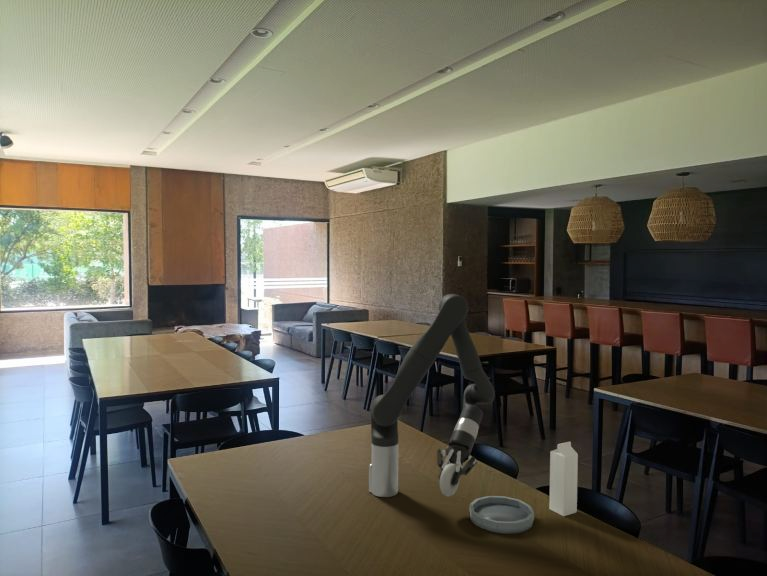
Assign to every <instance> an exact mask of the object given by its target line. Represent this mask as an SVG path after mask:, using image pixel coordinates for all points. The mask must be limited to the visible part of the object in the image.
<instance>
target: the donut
mask: <svg viewBox="0 0 767 576" xmlns="http://www.w3.org/2000/svg"><path fill="white" fill-rule="evenodd" d="M454 472H456V464H452V463H451V464H447V465H446V466H445V467H444V469H443V471H442V473H441V477H440V481H439V488H440V492H441V493H442V494H443V495H444V496H445V497H451V496H453V495H454V494H455V493H456V492H457V490H458V488H459V484H460V480H461V479H460V478H461V477H460V478H459V480H458V483H457V485H456V484H455V486H452V484H451V481H452V478H453V475H454Z"/></svg>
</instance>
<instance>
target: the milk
mask: <svg viewBox="0 0 767 576" xmlns="http://www.w3.org/2000/svg"><path fill="white" fill-rule="evenodd" d="M556 445H557V446H556V449H554V450H551V451H550V452H549V453H550V455H549V456H550V458H549V464H550V465H549V506H548V508H549V510H550V511H552V512H554V513H556V514H558V515H560V516H562V517H566V516H569V515H572V514H576V513H577V511H578V509H577V507H578V504H577V503H578V468H579V467H578V463H579V462H578V459H579V455H578V452H577V451H576V450H575V449H574V448H573V446H572V441H566V442H562V443H558V444H556Z"/></svg>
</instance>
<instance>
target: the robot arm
mask: <svg viewBox="0 0 767 576" xmlns="http://www.w3.org/2000/svg"><path fill="white" fill-rule="evenodd" d="M438 311H439V312H438V313H437V315H436V317H435V318H434V320H433V322H432V323H431V325H430V326H429V327H428V329H426V330H425V332H424V333H422V335H420V337H418V338H417V340H416V341H415V342H414V343H413V344H412V346H411V347H410V348H409V350H408V351H407V353H406V355H404V358H403V359H402V361H401V364H400V366H399V368H398V370H397V373H396V375H395V378H394V379H393V382H392V384H391V385H390V386H389V388H388V390H386V392H385V394H380V395H377V396H376V397H375V398H374V399H373V401H372V403H371V409H370V421H371V422H370V424H371V425H370V427H371V428H370V433H371V436H370V437H371V463H370V464H369V465H368V492H369V493H371V494H372V495H373V496H376V497H380V498H390V497H394V496H396V495H397V494H398V493H399V427H398V422H399V421H398V419H399V417H400V416H401V413H402V411H403V410H404V407H405V405H406V404H407V402H408V400H409V398H410V397H411V395H412V394H413V392H414V391H415V390H416V389H417V387H418V386H419V385H420V383H421V382H422V381H423V379H424V377H426V375H427V374H428V372H429V371H430V369H431V368H432V366H433V364H434V363H435V362H436V360H437V358H438V356H440V354H441V352H442V350H443V348H444V346H445V345H446V343H447V341H448V340H449V338H450V337H451V339H452V342H453V345H454V349H455V352H456V357H457V359H458V363H459V365H460V366H459V367H460V369H461V372H462V375H463V378H464V379H465V380H469V381H472V382H473V383H471V384H468V385H467V386H466V387H465V389H464V392H463V399H462V411H461V413H460V415H459V418H458V420H457V422H456V424H455V426H454V429H453V431H452V435H451V437H450V439H449V441H448V446H447V447H446V448H445V449H441V448H438V449H437V450H436V453H437V454H436V457H437V458H436V459H437V460H436V461H437V464H436V465H437V466H438V469H439V470H440V471H439V475H438V480H439V482H440V477H441V473H442V471H443V469H444V467H445V466H446V465H447V464H451V463H452V464H454V465H456V472H454V475H453V478H452V481H451V484H452V486H455V484H456V485H457V483H458V480H459V481H460V479H459V478H461V476H463V475H464V476H467V475H468V474H469V473H470V472H471V470H472V469H473V468H474V467H475V465H477V464H478V463H477V462H478V461H477V459H476V457H475V456H472V455H471V452H472V450H473V447H474V446H475V445H474V444H475V443H476V442H475V441H476V439H477V436H478V433H479V429H480V425H481V422H482V419H483V415H484V413H483V410H482V409H481V408H480V407H479V406H477V405H489V404H491V403H493V402H494V400H495V397H496V395H495V393H496V391H495V388H494V386H493V384H492V382H491V380H490V379H489V377H488V376H487V374H486V372H485V370H484V369H483V366H482V362H481V359H480V356H479V353H478V350H477V348H476V346H475V343H474V342H473V339H472V337H471V335H470V331H469V330H468V326H467V322H466V317H467V315H468V313H469V303H468V301H467V299H466V298H465V297H464V296H462V295H459V294H457V293H456V294H455V293H447V294H446V295H444V296H443V297H441V299H440V301H439V304H438ZM445 455H446V457H445ZM444 458H445V459H444ZM464 463H465V464H464Z"/></svg>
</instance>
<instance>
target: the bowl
mask: <svg viewBox="0 0 767 576" xmlns="http://www.w3.org/2000/svg"><path fill="white" fill-rule="evenodd" d="M469 516H470V517H469V518H470V521H471V522H472V523H473V524H474V525H475V526H477V527H479V528H480V529H483V530H484V529H485V530H484V531H487V532H491V533H497V534H502V535H503V534H504V535H505V534H506V535H507V534H508V535H509V534H510V535H511V534H513V535H514V534H519V533H523V532H527V531H528V530H530V529H531V528H532V527H533V524H534V521H535V512H534V510H533V507H532V506H531V505H529V504H528V503H526V502H524V501H522V500H521V499H517V498H513V497H508V496H506V495H505V496H504V495H503V496H502V495H488V496H487V495H486V496H482V497H478V498H475V499H474V500H473V501H472V502H471V503H469Z"/></svg>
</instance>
